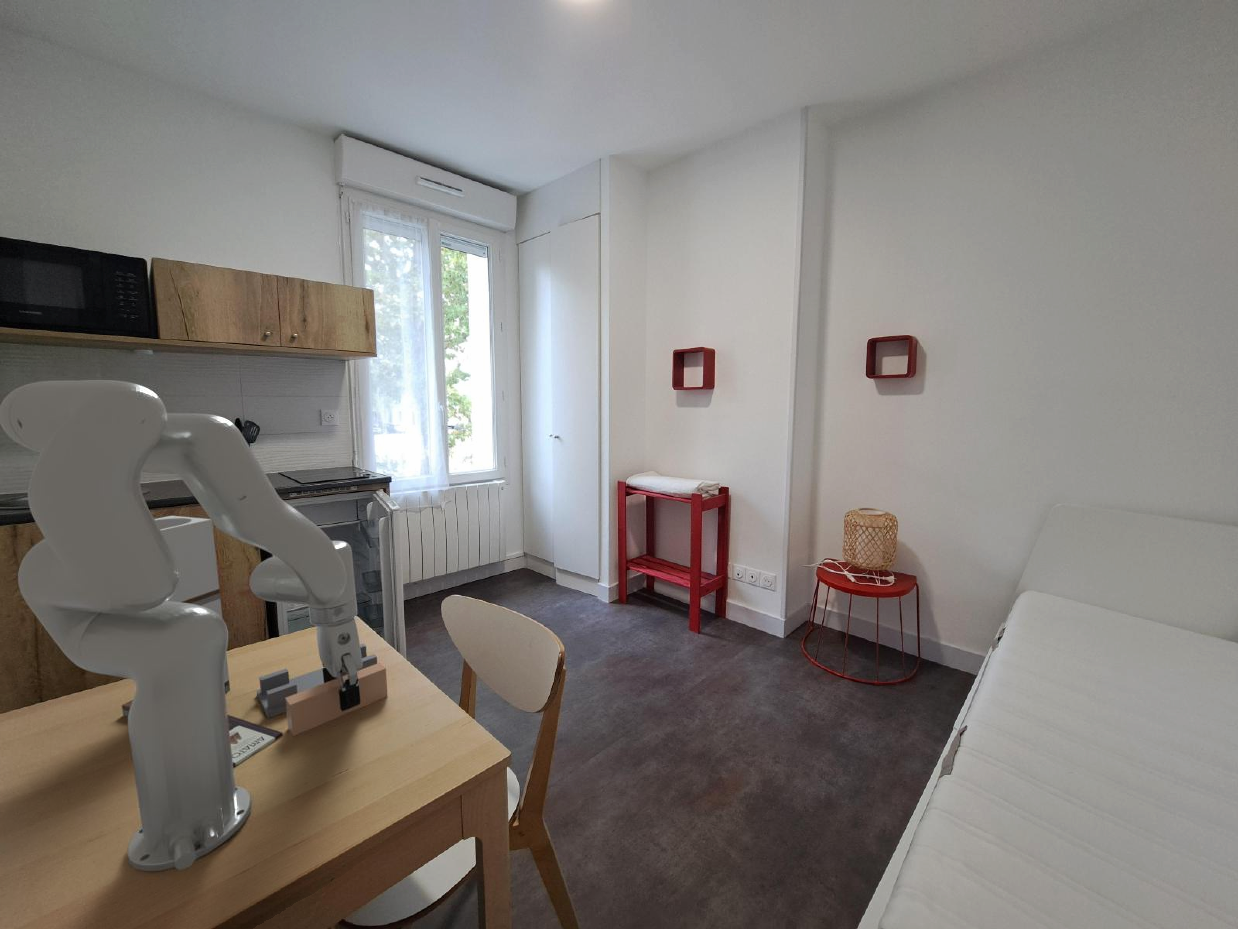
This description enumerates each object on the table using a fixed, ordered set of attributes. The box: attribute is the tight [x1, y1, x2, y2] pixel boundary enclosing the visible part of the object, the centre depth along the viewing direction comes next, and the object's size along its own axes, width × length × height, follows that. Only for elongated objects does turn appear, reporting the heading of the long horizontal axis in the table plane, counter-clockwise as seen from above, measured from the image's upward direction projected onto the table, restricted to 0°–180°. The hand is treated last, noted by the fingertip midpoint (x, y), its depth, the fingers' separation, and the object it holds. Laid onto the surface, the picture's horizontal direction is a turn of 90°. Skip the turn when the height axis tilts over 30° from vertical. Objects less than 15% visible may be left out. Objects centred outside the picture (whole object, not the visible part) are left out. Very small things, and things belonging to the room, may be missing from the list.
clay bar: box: [285, 662, 389, 737], centre depth 92 cm, size 3×16×6 cm, turn 137°
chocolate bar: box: [227, 714, 284, 768], centre depth 84 cm, size 9×1×18 cm
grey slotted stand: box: [256, 643, 378, 719], centre depth 100 cm, size 10×20×4 cm, turn 135°
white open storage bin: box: [121, 515, 231, 717], centre depth 92 cm, size 11×11×35 cm
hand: (342, 695), depth 92 cm, fingers open, 9 cm apart
